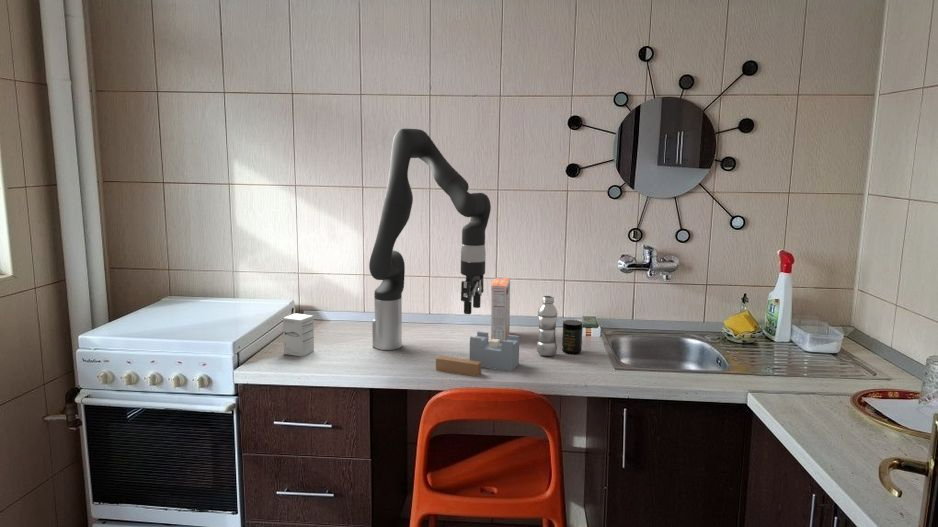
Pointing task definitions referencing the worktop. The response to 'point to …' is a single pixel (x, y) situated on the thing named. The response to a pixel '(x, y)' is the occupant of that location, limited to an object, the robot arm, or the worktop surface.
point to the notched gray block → (495, 351)
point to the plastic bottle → (547, 327)
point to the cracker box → (500, 309)
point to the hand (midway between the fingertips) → (472, 310)
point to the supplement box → (298, 334)
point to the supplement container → (572, 337)
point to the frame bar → (458, 366)
